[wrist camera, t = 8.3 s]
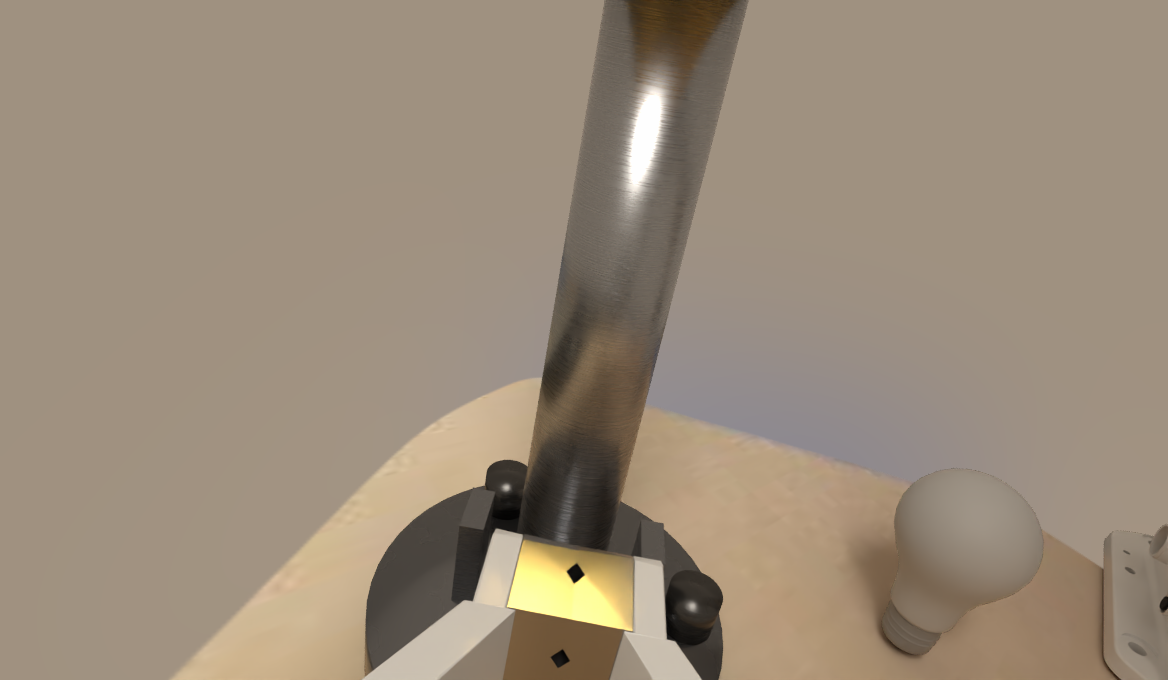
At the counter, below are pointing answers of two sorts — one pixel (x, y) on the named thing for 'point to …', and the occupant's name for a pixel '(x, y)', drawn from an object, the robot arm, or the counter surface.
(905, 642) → the lightbulb
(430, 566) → the tribrach base
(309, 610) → the counter surface
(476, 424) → the counter surface
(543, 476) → the instrument mast
